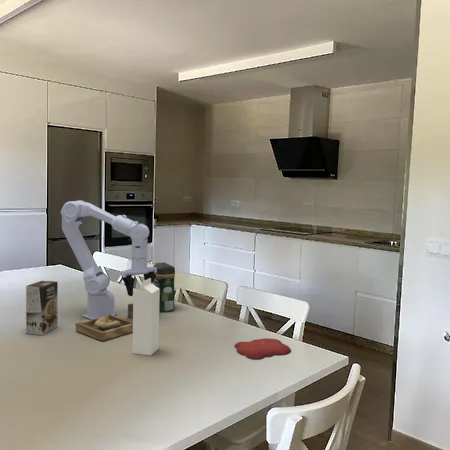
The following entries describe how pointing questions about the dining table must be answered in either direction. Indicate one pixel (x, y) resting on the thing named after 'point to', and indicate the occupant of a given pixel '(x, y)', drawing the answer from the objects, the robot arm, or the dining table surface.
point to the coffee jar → (165, 286)
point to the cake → (106, 324)
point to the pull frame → (125, 328)
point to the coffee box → (41, 307)
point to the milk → (146, 319)
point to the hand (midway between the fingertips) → (139, 294)
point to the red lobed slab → (262, 348)
